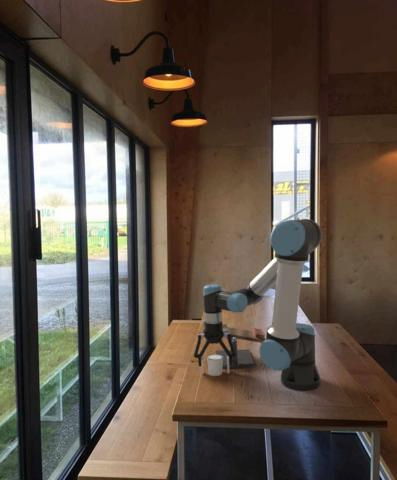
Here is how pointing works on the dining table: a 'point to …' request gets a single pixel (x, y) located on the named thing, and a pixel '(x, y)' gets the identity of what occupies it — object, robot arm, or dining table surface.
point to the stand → (237, 356)
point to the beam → (243, 333)
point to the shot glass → (215, 364)
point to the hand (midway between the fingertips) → (215, 372)
